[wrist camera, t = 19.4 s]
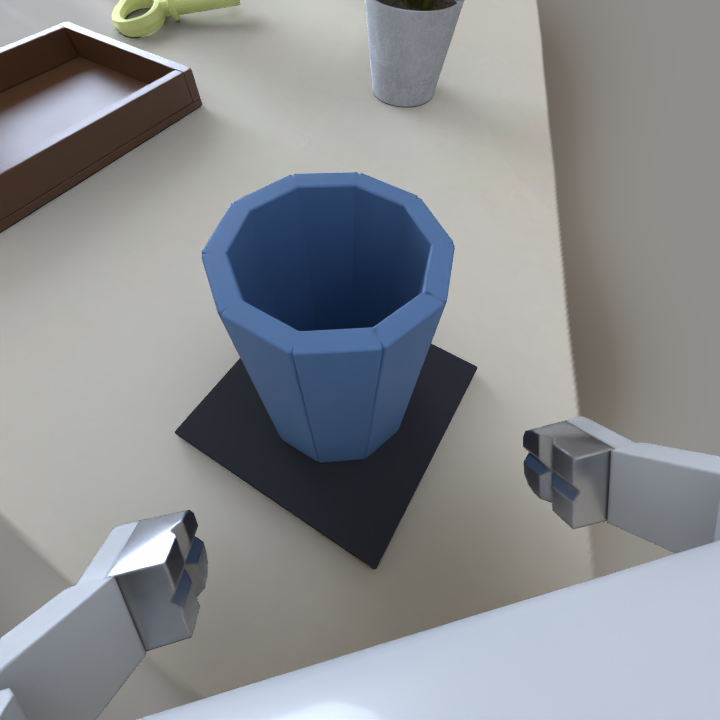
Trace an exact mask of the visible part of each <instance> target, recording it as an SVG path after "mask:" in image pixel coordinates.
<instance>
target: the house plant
mask: <svg viewBox="0 0 720 720" xmlns="http://www.w3.org/2000/svg"><path fill="white" fill-rule="evenodd" d="M463 2H464V0H365V7H366V18H367V30H368V42H369V53H370V65H371V77H372V88H373V93H374V95H375V96H376V97H377V98H378V99H380V100H381V101H383V102H385V103H387V104H390V105H394V106H401V107H413V106H418V105H422V104H424V103H426V102H428V101H429V100H430V99H431V98H432V96H433V94H434V91H435V88H436V85H437V81H438V78H439V75H440V72H441V69H442V66H443V63H444V60H445V57H446V54H447V51H448V48H449V45H450V42H451V39H452V36H453V33H454V30H455V27H456V24H457V21H458V18H459V14H460V11H461V8H462V5H463Z"/></svg>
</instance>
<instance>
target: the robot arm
mask: <svg viewBox="0 0 720 720" xmlns="http://www.w3.org/2000/svg"><path fill="white" fill-rule="evenodd" d="M523 447H524V448H525V449H526V450H527V451H528V452H529V454H528V455H527V457H526V459H525V461H524V474H525V477H526V480H527V482H528V485H529V486H530V488H531V489H532V491H533V492H534V493H535V494H536V495H537V496H538V497H539V498H540V499H543V500H545V501H548V502H551V503H552V509H553V511H554V512H555V513H556V514H557V515H558V516H559V517H560V518H561V519H562V520H564V521H565V522H566V523H567V524H568V525H569V526H570V527H571V528H572V529H576V528H580V527H584V526H588V525H592V524H596V523H600V522H604V521H607V523H609V524H611V525H614V526H616V527H618V528H621V529H623V530H625V531H627V532H629V533H632V534H634V535H636V536H638V537H641V538H643V539H645V540H647V541H649V542H652V543H654V544H656V545H659V546H661V547H663V548H665V549H667V550H670V551H672V552H674V553H676V554H673V555H670V556H667V557H664V558H660V559H657V560H654V561H651V562H647V563H644V564H641V565H637V566H634V567H631V568H628V569H624V570H622V571H618V572H615V573H611V574H608V575H605V576H602V577H598V578H595V579H592V580H589V581H585V582H582V583H579V584H575V585H572V586H569V587H566V588H562V589H559V590H556V591H553V592H549V593H546V594H543V595H540V596H536V597H533V598H530V599H526V600H523V601H520V602H517V603H513V604H510V605H507V606H504V607H500V608H497V609H494V610H490V611H487V612H484V613H481V614H477V615H474V616H471V617H467V618H464V619H461V620H458V621H454V622H451V623H448V624H445V625H441V626H438V627H435V628H431V629H428V630H425V631H422V632H418V633H415V634H412V635H409V636H405V637H402V638H399V639H395V640H392V641H389V642H386V643H382V644H379V645H376V646H373V647H369V648H366V649H363V650H360V651H356V652H353V653H350V654H347V655H343V656H340V657H337V658H334V659H331V660H327V661H324V662H321V663H318V664H314V665H311V666H308V667H305V668H301V669H298V670H295V671H292V672H288V673H285V674H282V675H279V676H276V677H272V678H269V679H266V680H263V681H259V682H256V683H253V684H250V685H246V686H243V687H240V688H237V689H233V690H230V691H227V692H224V693H221V694H217V695H214V696H211V697H208V698H204V699H201V700H198V701H195V702H191V703H188V704H185V705H181V706H178V707H175V708H171V709H169V710H165V711H162V712H158V713H155V714H152V715H149V716H145V717H142V718H138V719H135V720H720V456H714V455H709V454H703V453H698V452H692V451H687V450H682V449H676V448H671V447H665V446H660V445H654V444H649V443H644V442H642V443H637V444H636V443H634V442H633V441H630V440H629V439H627V438H625V437H623V436H621V435H619V434H617V433H615V432H613V431H611V430H609V429H607V428H605V427H603V426H601V425H599V424H598V423H596V422H594V421H592V420H590V419H588V418H586V417H576V418H572V419H569V420H565V421H561V422H558V423H555V424H551V425H547V426H543V427H539V428H536V429H532V430H528V431H525V434H524V437H523ZM197 527H198V524H197V521H196V518H195V516H194V513H193V512H191V511H190V510H186V511H182V512H177V513H172V514H168V515H163V516H159V517H154V518H149V519H145V520H142V521H141V520H139V521H135V522H131V523H127V524H123V525H119V526H117V527H115V528H113V530H112V531H111V533H110V534H109V536H108V537H107V539H106V540H105V542H104V543H103V545H102V546H101V548H100V549H99V551H98V552H97V554H96V555H95V557H94V558H93V560H92V561H91V563H90V564H89V566H88V567H87V569H86V570H85V572H84V573H83V575H82V577H81V578H80V580H79V581H78V583H77V584H76V586H73V587H69V588H66V589H65V590H63V591H62V592H61V593H60V594H58V595H57V596H56V597H54V598H53V599H52V600H50V601H49V602H48V603H46V604H45V605H44V606H42V607H41V608H40V609H39V610H37V611H36V612H34V613H33V614H32V615H31V616H29V617H28V618H27V619H25V620H24V621H23V622H21V623H20V624H19V625H17V626H16V627H15V628H13V629H12V630H11V631H9V632H8V633H7V634H5V635H4V636H3V637H2V638H0V720H96V719H97V718H98V717H99V715H100V714H101V713H102V711H103V710H104V708H105V707H106V706H107V705H108V704H109V702H110V701H111V700H112V698H113V697H114V696H115V694H116V693H117V692H118V690H119V689H120V688H121V687H122V685H123V684H124V683H125V681H126V680H127V679H128V677H129V676H130V675H131V673H132V672H133V671H134V670H135V668H136V667H137V666H138V664H139V663H140V662H141V660H142V659H143V658H144V656H145V655H146V651H149V650H152V649H156V648H159V647H162V646H165V645H168V644H171V643H175V642H178V641H181V640H184V639H187V638H191V637H192V636H193V632H194V628H195V624H196V620H197V616H198V613H199V609H200V605H199V602H198V599H197V596H198V595H199V594H200V593H201V592H202V590H203V589H204V588H205V585H206V580H207V574H208V560H207V553H206V549H205V546H204V542H203V541H201V540H200V539H198V538H197V537H195V533H196V530H197Z"/></svg>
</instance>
